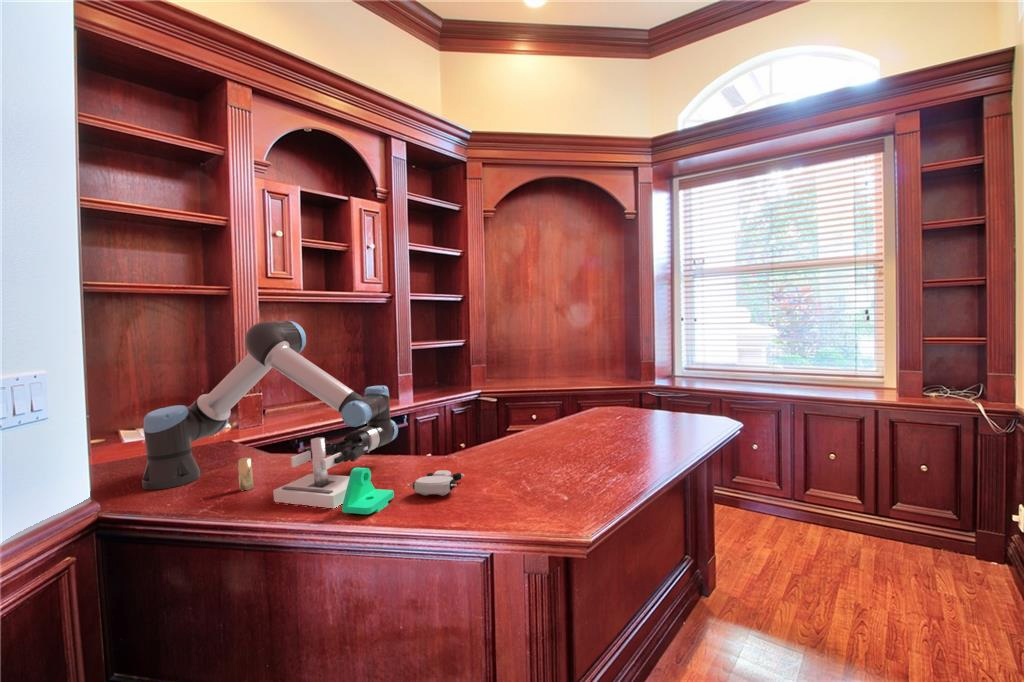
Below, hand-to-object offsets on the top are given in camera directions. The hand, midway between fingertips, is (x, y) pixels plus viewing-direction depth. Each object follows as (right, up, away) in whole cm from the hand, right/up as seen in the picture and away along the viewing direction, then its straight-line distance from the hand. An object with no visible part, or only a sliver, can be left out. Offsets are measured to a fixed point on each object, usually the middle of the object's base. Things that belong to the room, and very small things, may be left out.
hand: (308, 463), depth 130 cm
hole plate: (+2, -10, +5) cm, 11 cm away
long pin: (+2, -10, +5) cm, 11 cm away
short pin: (-24, -11, +14) cm, 30 cm away
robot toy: (+34, -9, +4) cm, 36 cm away
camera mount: (+18, -10, -5) cm, 22 cm away
